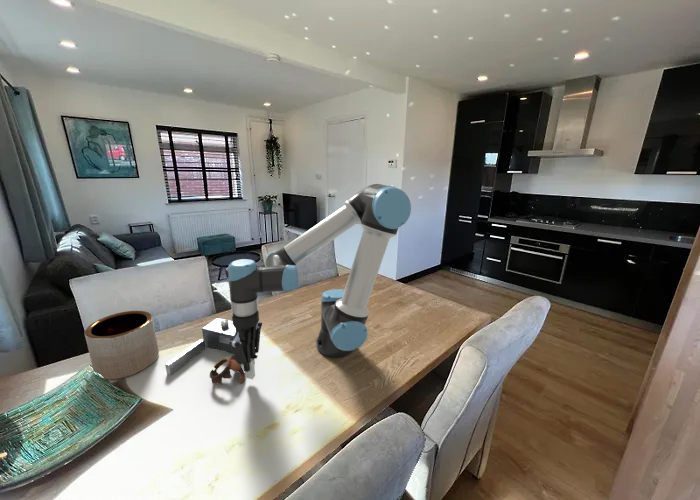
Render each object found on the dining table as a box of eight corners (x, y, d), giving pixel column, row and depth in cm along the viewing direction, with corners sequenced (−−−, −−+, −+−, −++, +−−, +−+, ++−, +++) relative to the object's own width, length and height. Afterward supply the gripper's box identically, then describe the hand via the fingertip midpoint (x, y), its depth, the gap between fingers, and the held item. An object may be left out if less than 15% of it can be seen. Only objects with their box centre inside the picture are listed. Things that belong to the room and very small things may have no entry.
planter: (106, 353, 101) (96, 314, 97) (163, 343, 108) (157, 306, 104) (84, 387, 86) (72, 343, 81) (153, 373, 92) (145, 332, 88)
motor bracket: (248, 342, 111) (247, 319, 108) (201, 384, 88) (197, 358, 86) (219, 335, 114) (216, 313, 112) (166, 374, 92) (162, 348, 89)
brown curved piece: (241, 392, 87) (224, 376, 83) (217, 398, 90) (200, 383, 86) (254, 359, 97) (240, 344, 94) (233, 365, 100) (218, 351, 96)
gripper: (248, 299, 90) (252, 361, 97) (219, 319, 78) (226, 388, 85) (268, 303, 88) (271, 366, 95) (241, 324, 76) (247, 394, 83)
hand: (250, 376), depth 90 cm, fingers closed
